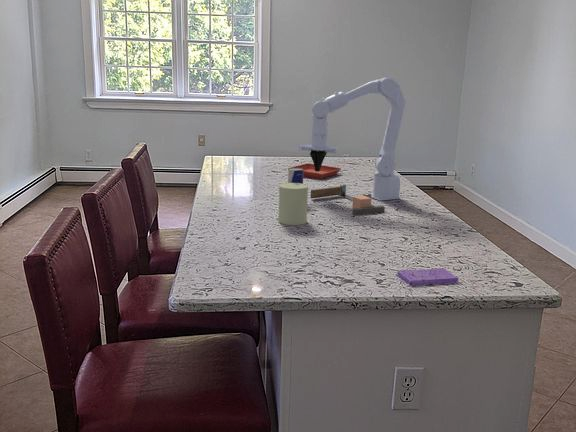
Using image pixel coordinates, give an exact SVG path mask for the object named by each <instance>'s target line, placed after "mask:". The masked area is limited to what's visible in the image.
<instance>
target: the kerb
mask: <svg viewBox="0 0 576 432" xmlns="http://www.w3.org/2000/svg"><path fill="white" fill-rule="evenodd" d="M385 207H386V206H384V205H375V206H371V207H365V208H355V209H352V215H354V216H360V215H368V214H376V213H377V214H378V213H385V212H386V211H385Z"/></svg>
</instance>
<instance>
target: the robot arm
mask: <svg viewBox="0 0 576 432" xmlns="http://www.w3.org/2000/svg"><path fill="white" fill-rule="evenodd" d="M368 94H377V95H378V94H380V95H382V96H383V97H385V98H386V100H387V101H388V103H389V104H390V107H389V108H390V109H389V112H388V116H387V117H388V118H387V122H386V126H385V132H384V135H383V136H384V137H383V140H382V145H381V148H380V151H379V154H378V156H377V157H376V158H375V160H374V167H375V168H376V171H375V172H374V173H373V190H372V195H371V199H375V200H378V201H380V202H381V201H388V200H400V199H401V197H400V191H401V190H400V189H401V188H400V187H401V180H400V176H399V175H398V174H397V173H394V171H395V169H396V166H395V165H396V164H395V150H396V147H397V140H398V137H399V133H400V128H401V123H402V119H403V115H404V110H405V107H406V99H405V97H404V95H403V92H402V89H401V85H400V84H399V83H398V82H397V81H396V79H394V78H393V77H389V76H388V77H387V76H384V77H382V78H380V79H379V78H377V79H374V80H371V81H369V82H367V83H364V84H361V85H360V86H359V87H356V88H354V89H352V90H349V91H348V92H346V93H345V92H343V91H335V92H334V93H333V94H332V95H330V96H328V97H326V98H325V97H322V100H319V101H316V102H315V103H314V104H313V105H312V108H311V112H312V114H313V115H312V117H311V119H312V121H311V134H310V135H311V139H310V140H311V141H310V144H299V147H298V148H299V149H298V151H305V152H307V151H308V152H309V155H310V157H311V160H312V162H313V163H312V164H314V167H315V171H318V172H319V171H320V169H321V165H323V162H324V160H325V157H326V156H327V153H330V154H331V153H332V154H339V147H335V146H329V145H328V146H327V143H328V114H329V113H331V114H332V113H336V112H337V111H340V110H342V109H343V108H346V107H348V105H349V103H350V102H351V101H353V100H354V101H355V100H356V99H358V98H361V97H363V96H366V95H368Z"/></svg>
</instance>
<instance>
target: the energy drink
mask: <svg viewBox="0 0 576 432" xmlns="http://www.w3.org/2000/svg"><path fill="white" fill-rule="evenodd" d="M289 168H290V167H289ZM287 183H301V184H304V177H303V169H301V168H290V169H289V170H288V172H287Z"/></svg>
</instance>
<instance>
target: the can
mask: <svg viewBox="0 0 576 432" xmlns="http://www.w3.org/2000/svg"><path fill="white" fill-rule="evenodd" d="M308 191H309V185H307V184H304V183H303V184H301V183H288V182H285V183H281V184H279V185H278V192H279V193H278V218H277V222H278V223H279V224H282V225H287V226H301V225H305V224H307V222H308V216H307V215H308V196H309V195H308Z"/></svg>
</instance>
